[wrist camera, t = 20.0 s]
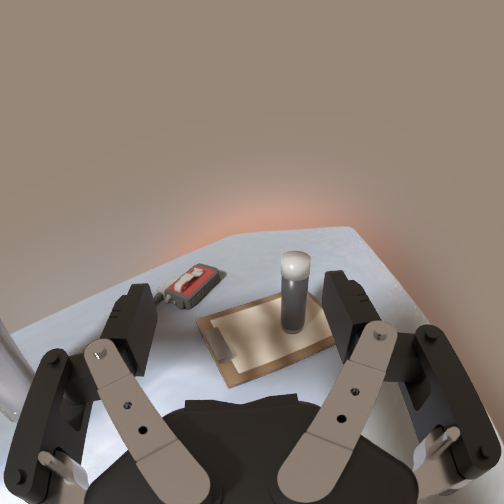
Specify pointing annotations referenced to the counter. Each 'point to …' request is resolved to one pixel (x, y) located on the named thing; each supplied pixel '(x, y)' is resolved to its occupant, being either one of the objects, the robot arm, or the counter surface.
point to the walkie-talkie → (189, 286)
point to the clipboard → (261, 338)
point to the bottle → (294, 290)
